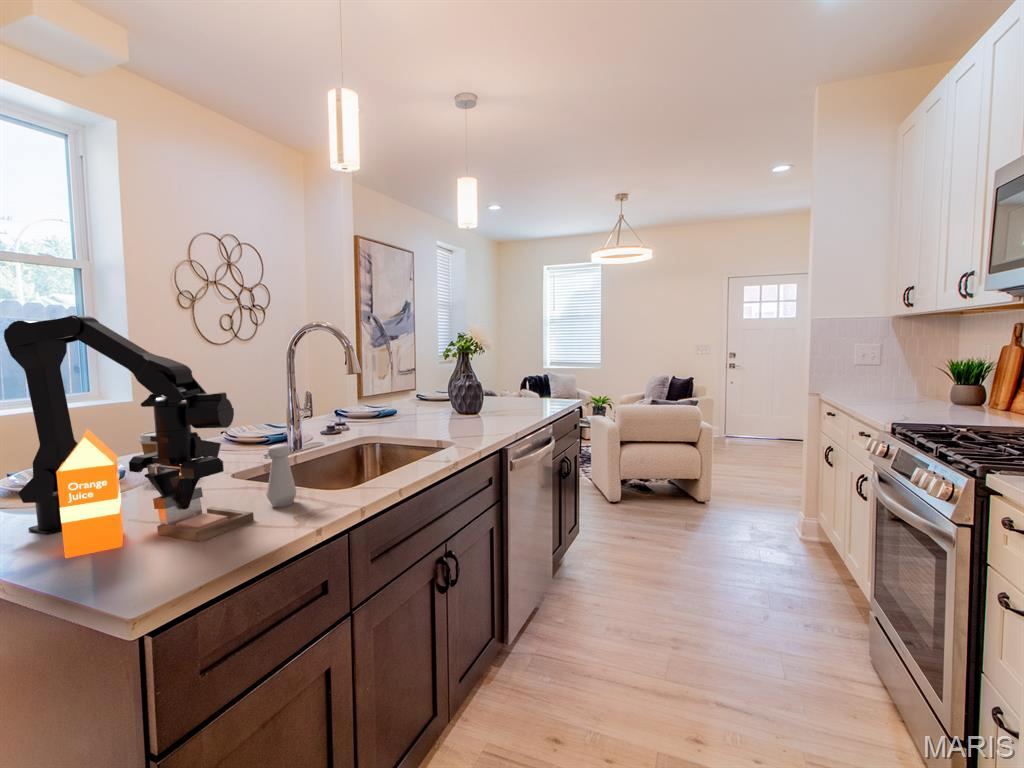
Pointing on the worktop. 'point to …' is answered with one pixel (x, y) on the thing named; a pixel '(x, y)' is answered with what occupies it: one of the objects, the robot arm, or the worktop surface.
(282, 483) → the salt shaker
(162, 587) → the worktop surface
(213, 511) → the bay
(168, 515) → the grey block
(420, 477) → the worktop surface
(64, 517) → the orange juice
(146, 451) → the disposable coffee cup
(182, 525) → the tile
